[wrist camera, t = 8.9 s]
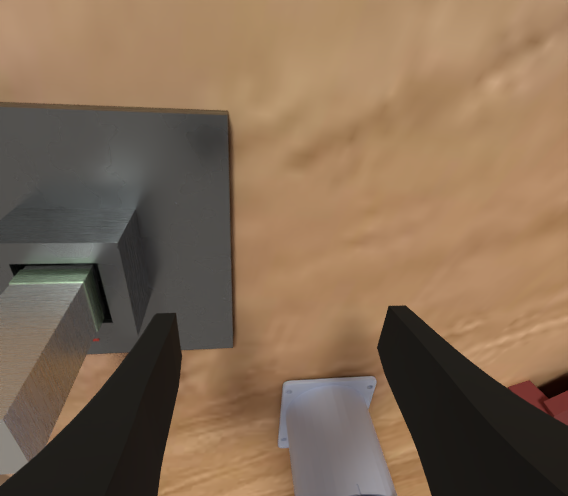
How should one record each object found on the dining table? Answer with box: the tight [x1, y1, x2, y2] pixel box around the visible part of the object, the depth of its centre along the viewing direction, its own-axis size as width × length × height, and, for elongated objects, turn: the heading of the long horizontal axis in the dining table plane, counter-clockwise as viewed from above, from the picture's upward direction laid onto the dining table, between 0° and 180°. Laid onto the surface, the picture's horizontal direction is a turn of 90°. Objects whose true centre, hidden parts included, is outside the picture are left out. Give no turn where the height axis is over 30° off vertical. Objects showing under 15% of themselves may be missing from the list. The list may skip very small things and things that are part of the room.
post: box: [0, 265, 106, 474], centre depth 15 cm, size 3×3×8 cm
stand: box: [0, 102, 233, 354], centre depth 19 cm, size 16×16×4 cm
